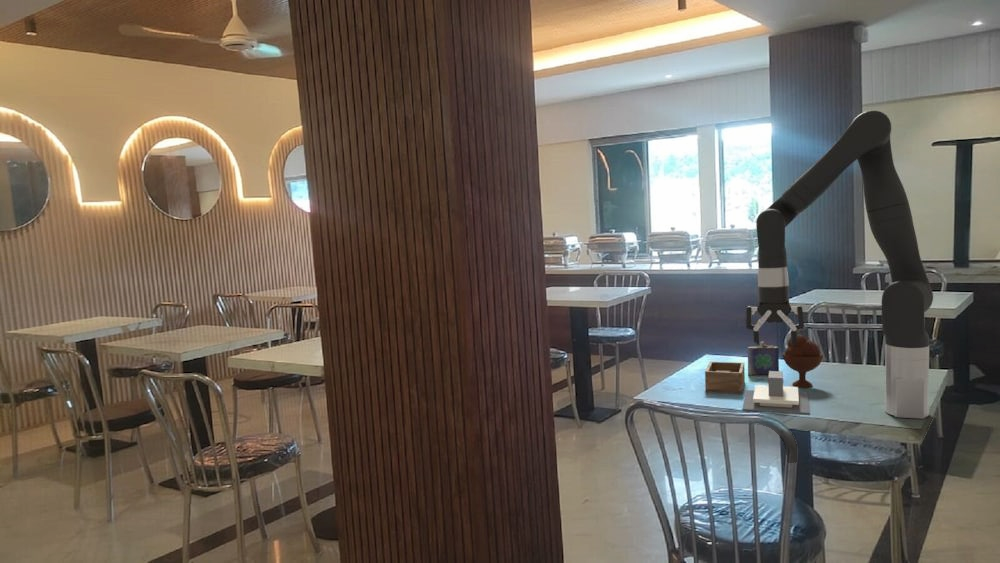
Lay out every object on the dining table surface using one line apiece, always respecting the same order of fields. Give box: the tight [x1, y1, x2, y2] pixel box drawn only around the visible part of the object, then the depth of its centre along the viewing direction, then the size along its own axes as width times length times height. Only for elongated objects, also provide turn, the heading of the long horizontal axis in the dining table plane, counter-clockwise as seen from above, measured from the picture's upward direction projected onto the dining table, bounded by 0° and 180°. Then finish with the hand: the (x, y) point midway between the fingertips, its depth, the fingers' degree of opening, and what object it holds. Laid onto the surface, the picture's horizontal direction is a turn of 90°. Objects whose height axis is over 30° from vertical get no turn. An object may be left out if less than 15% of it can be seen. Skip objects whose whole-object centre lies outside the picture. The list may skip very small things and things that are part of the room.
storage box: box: [704, 361, 746, 395], centre depth 200 cm, size 14×10×6 cm
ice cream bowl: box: [781, 333, 824, 389], centre depth 197 cm, size 11×11×15 cm
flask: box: [747, 340, 780, 377], centre depth 213 cm, size 9×3×11 cm, turn 76°
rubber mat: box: [741, 389, 811, 415], centre depth 182 cm, size 20×16×1 cm
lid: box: [753, 370, 799, 407], centre depth 182 cm, size 15×11×7 cm
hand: (775, 344), depth 180 cm, fingers open, 8 cm apart
